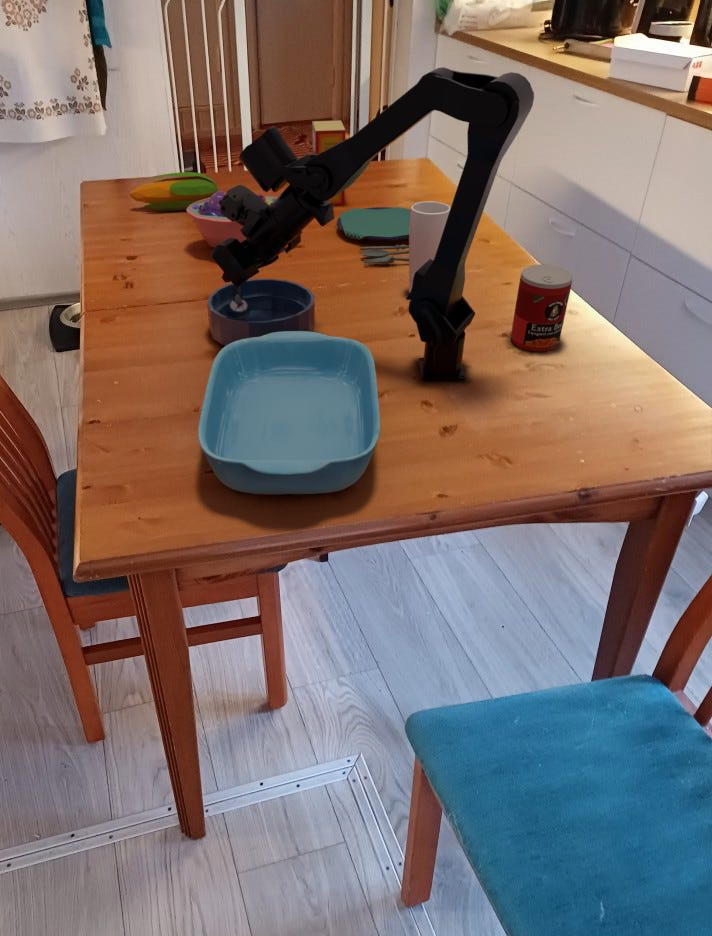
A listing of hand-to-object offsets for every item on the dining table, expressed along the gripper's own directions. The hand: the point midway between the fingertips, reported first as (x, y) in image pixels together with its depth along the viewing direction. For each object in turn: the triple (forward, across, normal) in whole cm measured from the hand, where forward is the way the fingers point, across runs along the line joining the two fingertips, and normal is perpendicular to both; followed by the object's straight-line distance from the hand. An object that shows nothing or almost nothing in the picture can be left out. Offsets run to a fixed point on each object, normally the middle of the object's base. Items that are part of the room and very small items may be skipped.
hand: (228, 277), depth 125 cm
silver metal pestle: (+4, 0, +6) cm, 7 cm away
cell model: (+18, -32, -6) cm, 38 cm away
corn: (+37, -47, -25) cm, 65 cm away
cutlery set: (0, -49, +11) cm, 50 cm away
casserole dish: (-12, +26, +24) cm, 37 cm away
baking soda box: (+16, -68, -5) cm, 70 cm away
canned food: (-28, -16, +39) cm, 50 cm away
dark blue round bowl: (+2, 0, +10) cm, 10 cm away
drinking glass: (-12, -26, +23) cm, 37 cm away
